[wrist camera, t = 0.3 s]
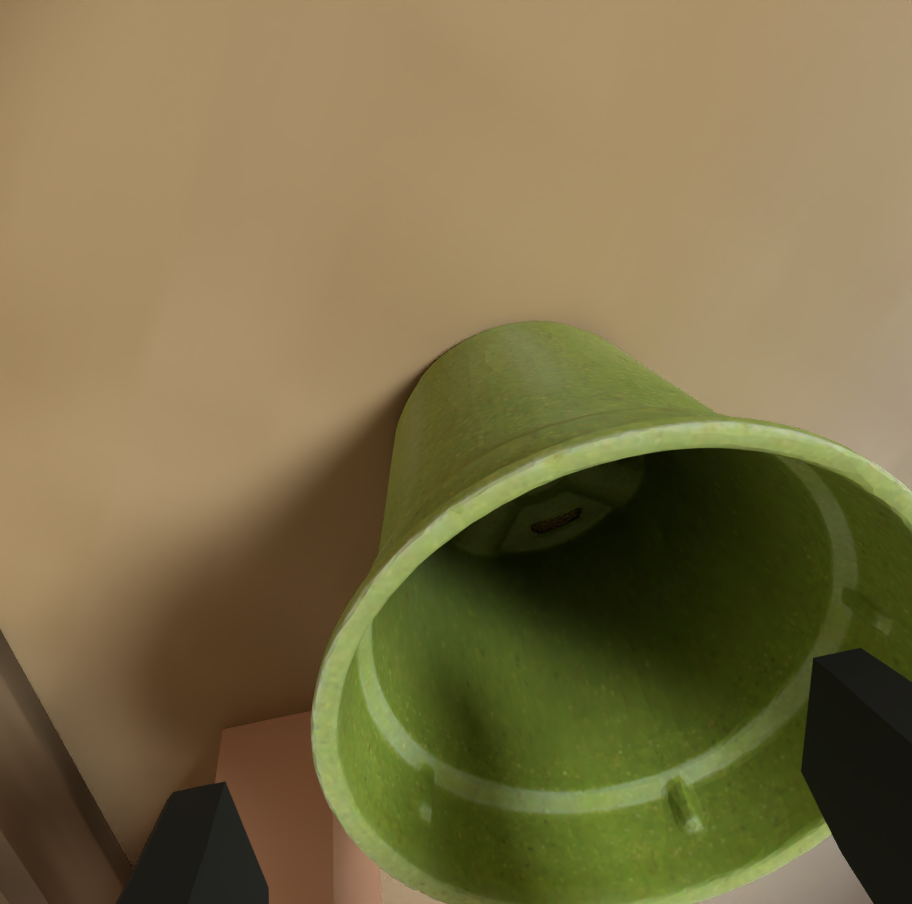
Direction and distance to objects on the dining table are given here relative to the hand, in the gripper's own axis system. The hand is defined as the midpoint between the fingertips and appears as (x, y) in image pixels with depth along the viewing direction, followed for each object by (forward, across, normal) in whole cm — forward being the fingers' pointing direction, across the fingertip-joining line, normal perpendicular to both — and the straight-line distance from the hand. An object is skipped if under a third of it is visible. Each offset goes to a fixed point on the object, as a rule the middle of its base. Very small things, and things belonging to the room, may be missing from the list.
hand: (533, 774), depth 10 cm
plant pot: (+10, -2, +1) cm, 10 cm away
